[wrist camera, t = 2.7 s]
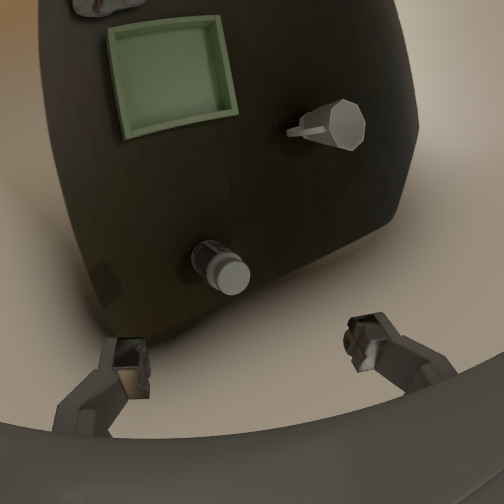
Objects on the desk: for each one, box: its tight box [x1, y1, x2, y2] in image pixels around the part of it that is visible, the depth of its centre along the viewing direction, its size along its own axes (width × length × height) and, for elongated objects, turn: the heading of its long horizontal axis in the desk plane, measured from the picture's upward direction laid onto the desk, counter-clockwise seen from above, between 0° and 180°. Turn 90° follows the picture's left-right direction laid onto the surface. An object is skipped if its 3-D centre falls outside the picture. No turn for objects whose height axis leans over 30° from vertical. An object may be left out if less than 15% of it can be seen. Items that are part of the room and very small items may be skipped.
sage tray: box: [106, 15, 239, 141], centre depth 31 cm, size 14×14×3 cm
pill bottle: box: [191, 240, 250, 295], centre depth 38 cm, size 5×5×8 cm
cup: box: [286, 99, 365, 151], centre depth 39 cm, size 7×10×8 cm
